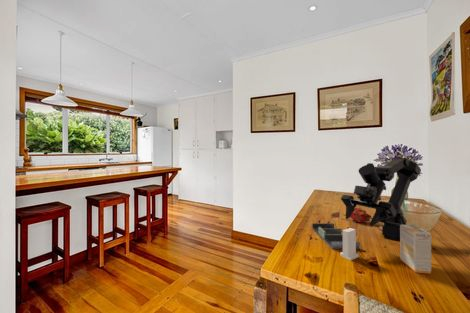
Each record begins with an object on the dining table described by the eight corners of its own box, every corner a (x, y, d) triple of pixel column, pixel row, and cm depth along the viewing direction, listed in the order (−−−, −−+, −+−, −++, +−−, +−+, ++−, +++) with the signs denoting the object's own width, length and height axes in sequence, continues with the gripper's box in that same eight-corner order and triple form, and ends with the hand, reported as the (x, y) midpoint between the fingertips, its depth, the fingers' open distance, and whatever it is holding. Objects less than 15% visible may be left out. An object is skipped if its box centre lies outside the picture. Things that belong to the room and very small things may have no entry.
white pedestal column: (348, 252, 78) (347, 227, 78) (358, 256, 74) (358, 230, 74) (340, 255, 76) (340, 229, 75) (350, 260, 72) (350, 233, 72)
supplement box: (432, 274, 63) (432, 233, 63) (415, 272, 64) (415, 232, 64) (414, 260, 71) (414, 224, 71) (399, 259, 72) (399, 223, 72)
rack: (333, 228, 102) (333, 221, 102) (359, 249, 80) (359, 239, 80) (312, 228, 103) (312, 221, 102) (332, 249, 81) (332, 239, 81)
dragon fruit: (346, 221, 118) (370, 229, 109) (343, 215, 113) (367, 224, 104) (352, 208, 120) (375, 216, 111) (348, 202, 115) (372, 209, 106)
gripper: (343, 176, 88) (327, 204, 83) (392, 181, 72) (376, 216, 67) (353, 192, 92) (338, 219, 87) (402, 200, 76) (388, 234, 70)
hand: (357, 222), depth 78 cm, fingers open, 9 cm apart
